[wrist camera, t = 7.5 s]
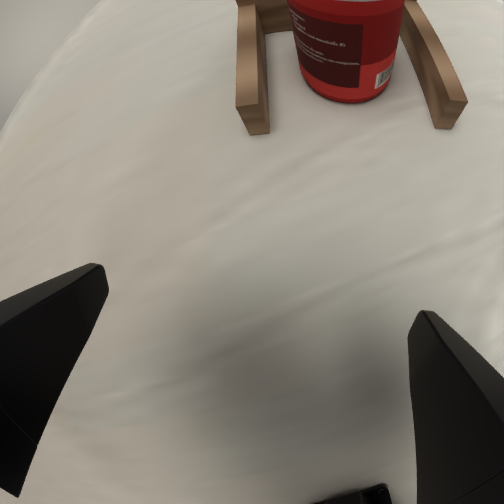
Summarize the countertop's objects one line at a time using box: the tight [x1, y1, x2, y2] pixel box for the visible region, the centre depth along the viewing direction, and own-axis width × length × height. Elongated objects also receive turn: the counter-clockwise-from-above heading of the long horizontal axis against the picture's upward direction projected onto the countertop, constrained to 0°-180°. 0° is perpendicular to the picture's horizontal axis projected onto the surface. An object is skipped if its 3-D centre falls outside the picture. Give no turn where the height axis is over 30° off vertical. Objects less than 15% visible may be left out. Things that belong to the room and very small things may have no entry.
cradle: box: [236, 0, 468, 135], centre depth 18 cm, size 14×16×8 cm
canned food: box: [286, 0, 405, 103], centre depth 16 cm, size 8×8×11 cm
